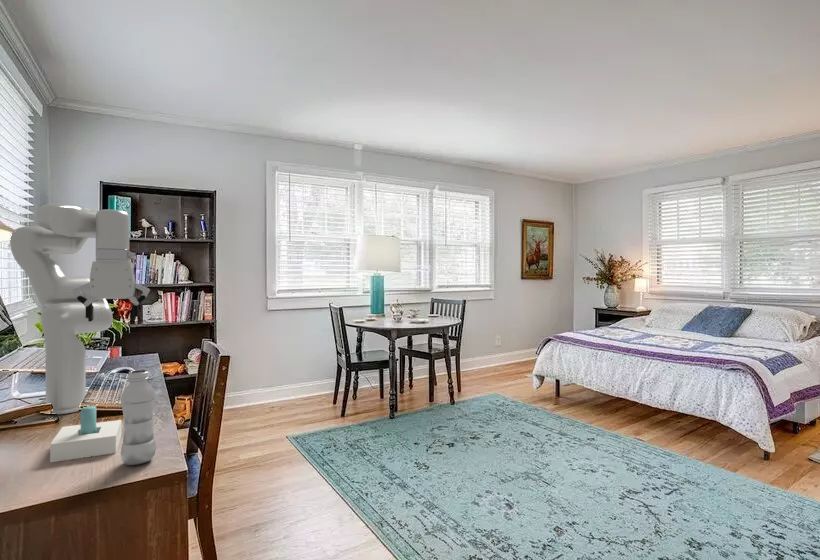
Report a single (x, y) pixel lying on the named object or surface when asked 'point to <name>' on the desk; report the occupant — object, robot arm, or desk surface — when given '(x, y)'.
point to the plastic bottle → (138, 419)
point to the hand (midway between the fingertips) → (112, 320)
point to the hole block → (86, 441)
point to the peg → (88, 420)
